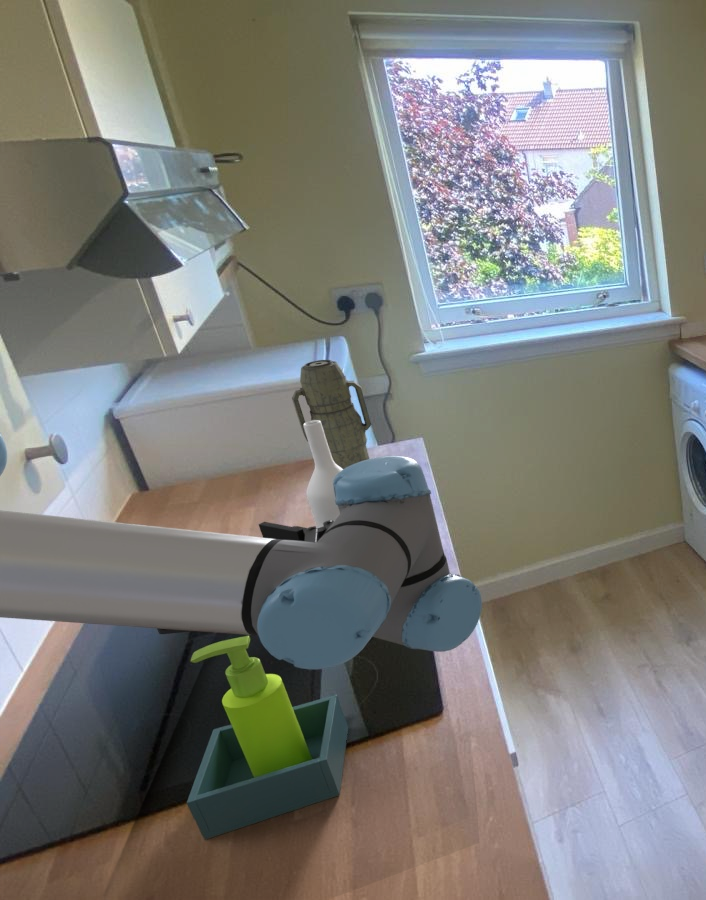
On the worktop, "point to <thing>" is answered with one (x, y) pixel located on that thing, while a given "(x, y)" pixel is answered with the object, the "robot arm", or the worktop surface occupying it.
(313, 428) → the bottle
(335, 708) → the tub
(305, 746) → the soap dispenser
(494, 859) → the worktop surface
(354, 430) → the olive amphora vase
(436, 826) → the worktop surface
